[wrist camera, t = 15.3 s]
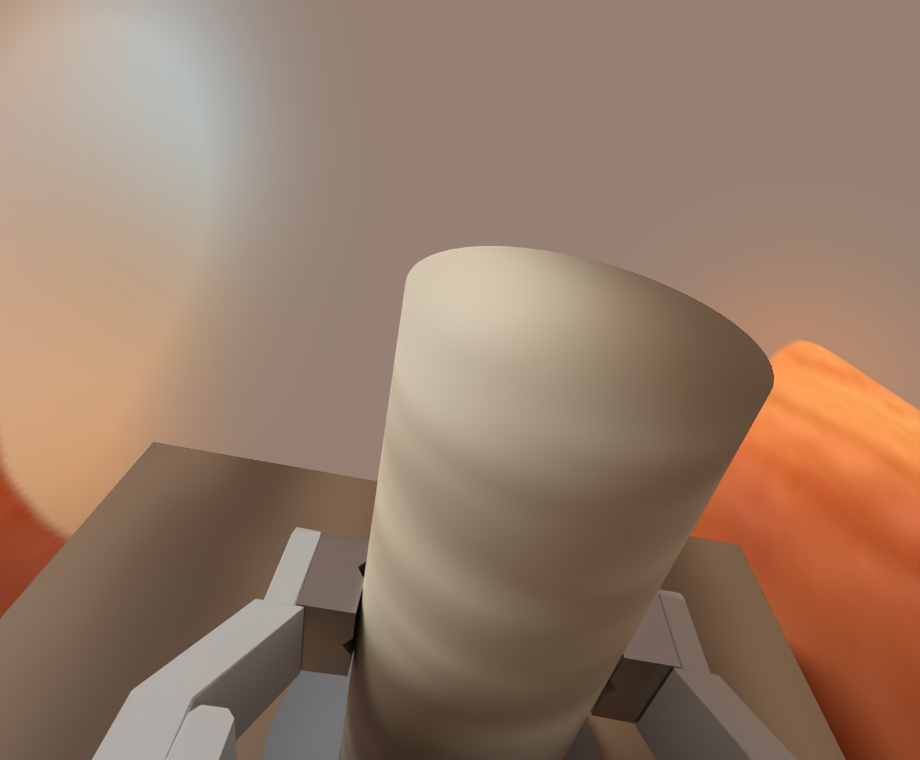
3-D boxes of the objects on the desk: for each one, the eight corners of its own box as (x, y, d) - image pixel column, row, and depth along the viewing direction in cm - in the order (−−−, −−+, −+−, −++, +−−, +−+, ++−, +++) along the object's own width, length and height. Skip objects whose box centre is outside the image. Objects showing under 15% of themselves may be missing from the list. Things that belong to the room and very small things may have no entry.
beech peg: (200, 1031, 11) (57, 448, 3) (310, 661, 17) (346, 184, 10) (579, 1079, 11) (1218, 650, 4) (548, 699, 18) (756, 266, 10)
